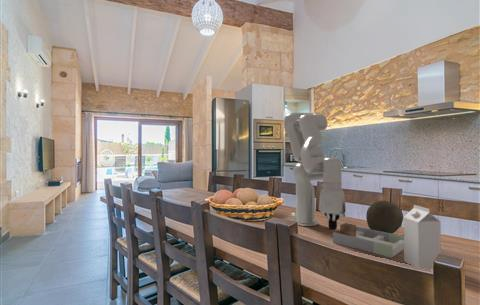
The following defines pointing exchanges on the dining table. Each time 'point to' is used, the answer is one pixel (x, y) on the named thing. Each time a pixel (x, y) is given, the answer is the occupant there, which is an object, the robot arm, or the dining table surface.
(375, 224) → the brown coconut
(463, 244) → the dining table surface
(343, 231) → the walnut block
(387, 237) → the lane box
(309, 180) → the robot arm
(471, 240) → the dining table surface
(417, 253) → the milk carton
